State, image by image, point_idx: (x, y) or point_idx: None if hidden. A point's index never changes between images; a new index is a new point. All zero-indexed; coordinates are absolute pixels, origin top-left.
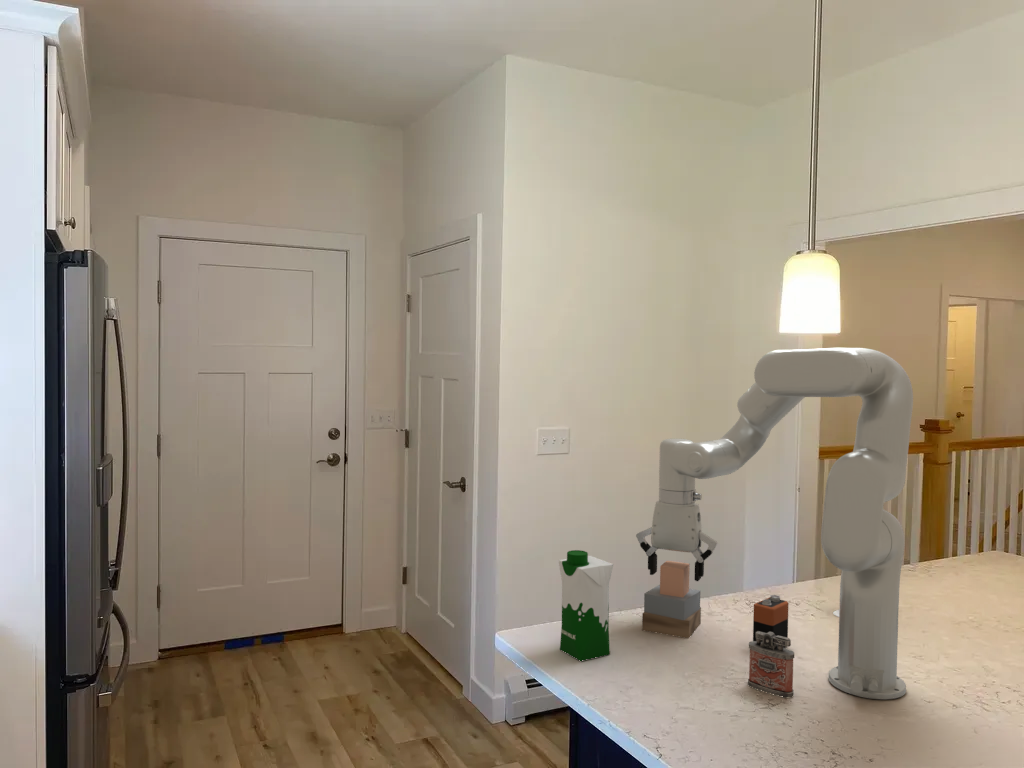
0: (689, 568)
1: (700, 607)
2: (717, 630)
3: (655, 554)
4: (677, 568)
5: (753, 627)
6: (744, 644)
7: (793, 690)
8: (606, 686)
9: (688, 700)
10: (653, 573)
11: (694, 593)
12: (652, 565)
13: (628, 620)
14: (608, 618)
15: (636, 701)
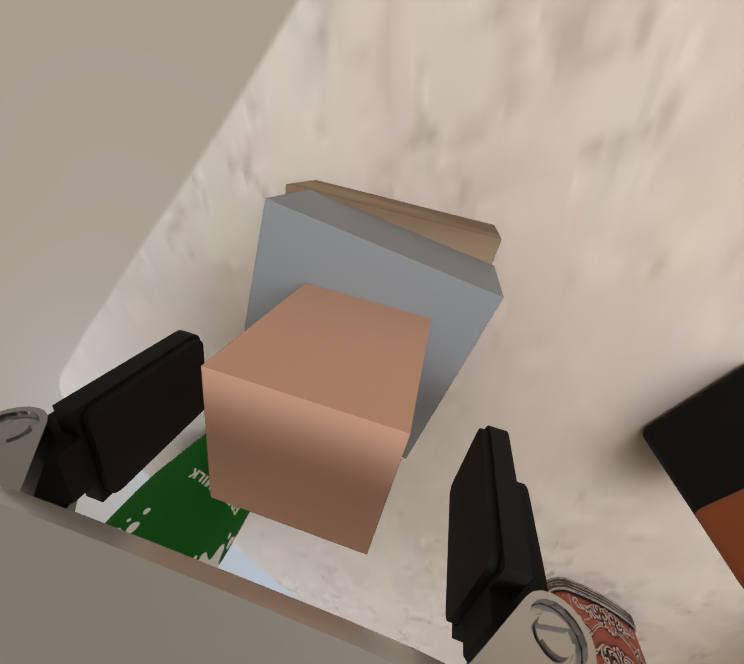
0: (415, 401)
1: (499, 242)
2: (553, 288)
3: (80, 439)
4: (324, 536)
5: (678, 489)
6: (621, 401)
7: (635, 632)
8: (300, 565)
9: (424, 606)
10: (202, 404)
11: (460, 354)
12: (159, 447)
13: (241, 253)
14: (218, 540)
15: (349, 599)
